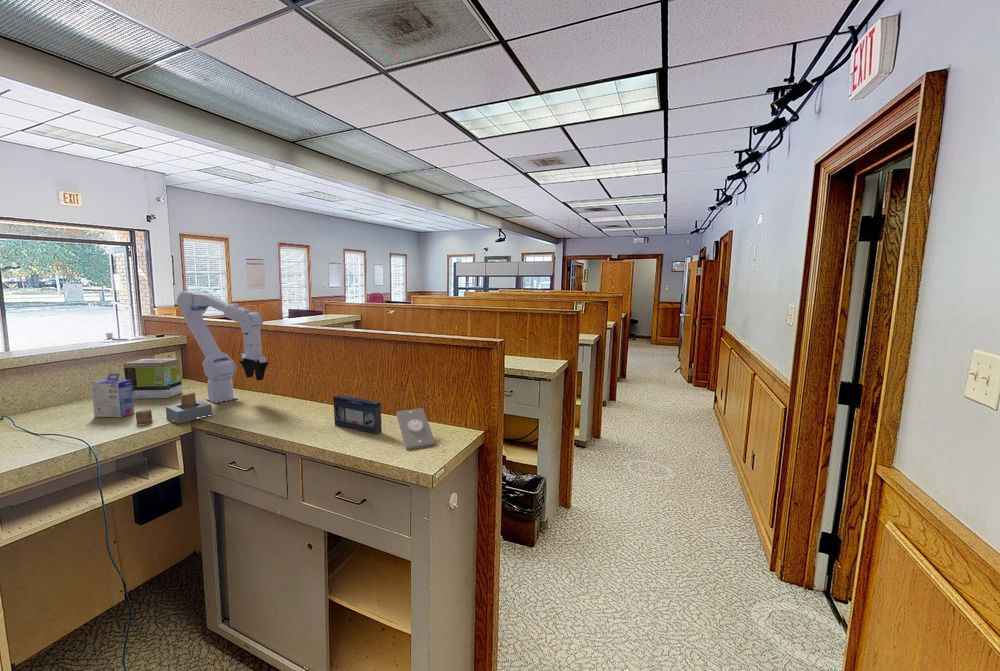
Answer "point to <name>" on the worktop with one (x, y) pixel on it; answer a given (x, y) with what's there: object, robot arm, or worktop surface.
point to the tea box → (154, 377)
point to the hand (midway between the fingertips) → (255, 378)
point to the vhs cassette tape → (357, 414)
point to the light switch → (415, 429)
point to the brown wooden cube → (144, 416)
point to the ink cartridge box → (112, 397)
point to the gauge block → (188, 412)
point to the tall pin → (188, 400)
